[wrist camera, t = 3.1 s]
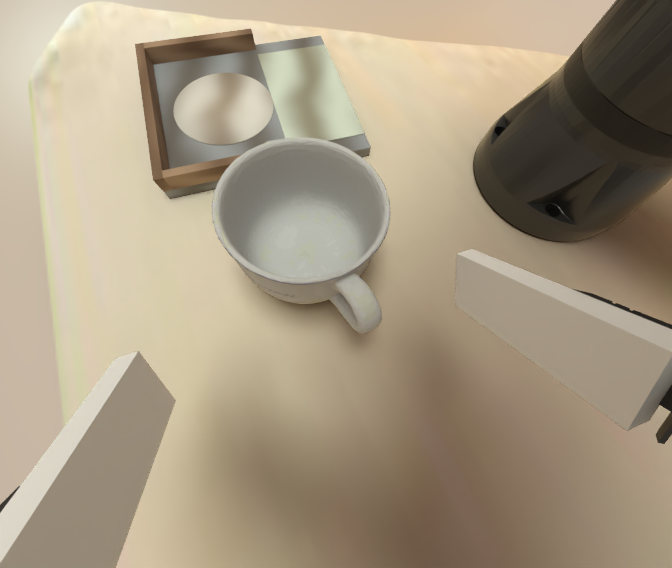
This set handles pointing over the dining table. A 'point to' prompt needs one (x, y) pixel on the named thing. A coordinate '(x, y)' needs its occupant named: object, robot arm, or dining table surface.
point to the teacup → (305, 223)
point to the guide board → (236, 103)
